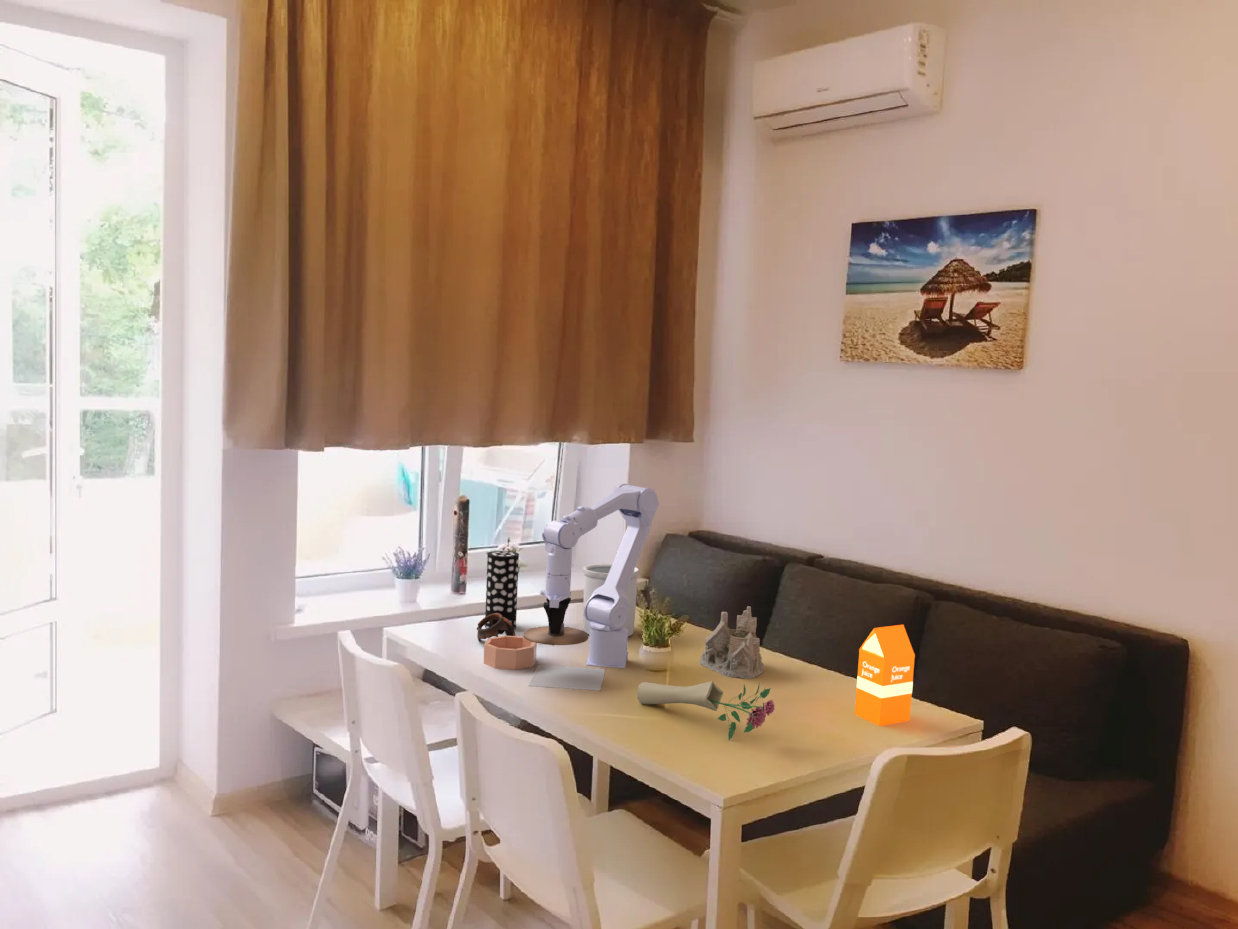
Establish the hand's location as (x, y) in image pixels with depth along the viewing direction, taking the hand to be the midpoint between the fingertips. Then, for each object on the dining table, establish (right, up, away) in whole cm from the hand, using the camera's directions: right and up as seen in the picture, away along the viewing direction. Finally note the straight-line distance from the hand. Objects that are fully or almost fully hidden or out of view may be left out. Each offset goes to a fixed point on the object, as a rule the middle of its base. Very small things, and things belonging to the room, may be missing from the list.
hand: (556, 631), depth 241 cm
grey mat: (+3, -11, -1) cm, 11 cm away
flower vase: (+32, -15, -27) cm, 45 cm away
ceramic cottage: (+42, -11, +14) cm, 45 cm away
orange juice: (+71, -16, -17) cm, 75 cm away
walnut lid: (0, -1, 0) cm, 1 cm away
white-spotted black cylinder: (-18, -6, +41) cm, 45 cm away
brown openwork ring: (-17, -7, +28) cm, 33 cm away
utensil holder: (+12, -7, +41) cm, 43 cm away
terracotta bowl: (-12, -9, +9) cm, 17 cm away
